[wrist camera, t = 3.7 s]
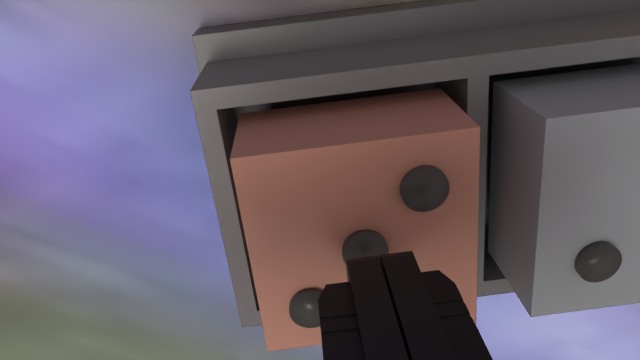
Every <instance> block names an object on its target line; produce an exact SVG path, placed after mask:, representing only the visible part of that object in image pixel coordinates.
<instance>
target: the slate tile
mask: <svg viewBox="0 0 640 360" xmlns="http://www.w3.org/2000/svg"><path fill="white" fill-rule="evenodd" d="M488 252H489V253H490V255H491V256H492V258H493V259H494V261H495V262H496V264H497V265H498V267H499V269H500V270H501V272H502V273H503V275H504V276H505V278H506V279H507V281H508V282H509V284H510V285H511V287H512V289H513V290H514V292H515V293H516V295H517V296H518V298H519V299H520V301H521V302H522V304H523V306H524V307H525V309H526V310H527V312H528V313H529V315H530V316H531V317H534V316H542V315H550V314H557V313H565V312H573V311H580V310H588V309H595V308H603V307H611V306H618V305H626V304H633V303H640V63H639V64H631V65H623V66H615V67H607V68H599V69H591V70H583V71H575V72H567V73H559V74H551V75H543V76H535V77H527V78H519V79H511V80H503V81H495V82H493V107H492V139H491V171H490V202H489V234H488Z"/></svg>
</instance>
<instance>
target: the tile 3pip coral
mask: <svg viewBox="0 0 640 360" xmlns="http://www.w3.org/2000/svg"><path fill="white" fill-rule="evenodd" d="M479 157H480V127H479V126H478V125H477V124H476V123H475V122H474V121H473V120H472V119H471V118H470V117H469V116H468V115H467V114H466V113H465V112H464V111H463V110H462V109H461V108H460V107H459V106H458V105H457V104H456V103H455V102H454V101H453V100H452V99H451V98H450V97H449V96H448V95H447V94H446V93H445V92H444V91H443V90H442V89H441V88H438V89H430V90H422V91H414V92H406V93H398V94H390V95H382V96H374V97H367V98H359V99H351V100H343V101H335V102H327V103H319V104H311V105H303V106H295V107H287V108H279V109H271V110H263V111H255V112H247V113H240V117H239V121H238V125H237V130H236V134H235V138H234V143H233V147H232V151H231V156H230V162H231V167H232V173H233V178H234V183H235V188H236V193H237V198H238V203H239V208H240V213H241V218H242V223H243V228H244V233H245V238H246V243H247V248H248V253H249V258H250V263H251V268H252V273H253V279H254V284H255V289H256V294H257V299H258V304H259V309H260V314H261V319H262V324H263V329H264V334H265V339H266V344H267V349H268V351H275V350H282V349H290V348H298V347H305V346H313V345H320V344H322V338H321V328H320V318H319V308H318V299H319V297H320V295H321V293H322V291H323V289H324V287H325V285H326V284H334V283H342V282H348V280H347V270H346V259H352V258H359V257H367V256H375V255H377V256H378V258H379V255H382V254H390V253H398V252H405V251H412V252H413V254H414V256H415V259H416V261H417V263H418V266H419V268H420V271H421V272H427V271H434V270H440V271H441V272H442V273H443V274H444V275H446V276H447V277H448V278H449V279H451V280H452V281H453V282H454V283H455V284H456V286H457V288H458V290H459V292H460V294H461V296H462V298H463V302H464V303H465V304H466V306H467V308H468V310H469V312H470V317H472V319H473V321H474V323H475V324H476V296H477V250H478V203H479Z"/></svg>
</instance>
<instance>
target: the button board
mask: <svg viewBox="0 0 640 360" xmlns="http://www.w3.org/2000/svg"><path fill="white" fill-rule="evenodd" d="M192 39H193V44H194V49H195V53H196V58H197V63H198V68H199V73H200V75H199V77H198V78H197V80H196V82H195V84H194V85H193V87H192V89H191V90H190V93H191V98H192V102H193V107H194V111H195V116H196V120H197V125H198V129H199V134H200V138H201V143H202V148H203V152H204V157H205V161H206V166H207V170H208V175H209V179H210V184H211V188H212V193H213V198H214V202H215V207H216V211H217V216H218V220H219V225H220V229H221V234H222V238H223V243H224V248H225V252H226V257H227V261H228V266H229V270H230V275H231V279H232V284H233V288H234V293H235V298H236V302H237V307H238V311H239V316H240V320H241V325H242V327H250V326H258V325H263V324H262V319H261V314H260V309H259V304H258V299H257V294H256V289H255V284H254V279H253V273H252V268H251V263H250V258H249V253H248V248H247V243H246V238H245V233H244V228H243V223H242V218H241V213H240V208H239V203H238V198H237V193H236V188H235V183H234V178H233V173H232V167H231V162H230V156H231V151H232V147H233V143H234V138H235V134H236V130H237V125H238V121H239V117H240V113H247V112H255V111H263V110H271V109H279V108H287V107H295V106H303V105H311V104H319V103H327V102H335V101H343V100H351V99H359V98H367V97H374V96H382V95H390V94H398V93H406V92H414V91H422V90H430V89H438V88H441V89H442V90H443V91H444V92H445V93H446V94H447V95H448V96H449V97H450V98H451V99H452V100H453V101H454V102H455V103H456V104H457V105H458V106H459V107H460V108H461V109H462V110H463V111H464V112H465V113H466V114H467V115H468V116H469V117H470V118H471V119H472V120H473V121H474V122H475V123H476V124H477V125H478V126H479V127H480V157H479V203H478V250H477V296H476V297H480V296H487V295H495V294H503V293H510V292H514V290H513V289H512V287H511V285H510V284H509V282H508V281H507V279H506V278H505V276H504V275H503V273H502V272H501V270H500V269H499V267H498V265H497V264H496V262H495V261H494V259H493V258H492V256H491V255H490V253H489V252H488V234H489V202H490V171H491V139H492V107H493V82H495V81H503V80H511V79H519V78H527V77H535V76H543V75H551V74H559V73H567V72H575V71H583V70H591V69H599V68H607V67H615V66H623V65H631V64H639V63H640V0H426V1H418V2H409V3H401V4H393V5H385V6H377V7H369V8H361V9H353V10H345V11H336V12H328V13H320V14H312V15H304V16H296V17H288V18H280V19H271V20H263V21H255V22H247V23H239V24H231V25H223V26H215V27H206V28H198V30H197V31H196V32H195V33H194V34H193V35H192Z"/></svg>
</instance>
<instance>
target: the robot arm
mask: <svg viewBox="0 0 640 360" xmlns="http://www.w3.org/2000/svg"><path fill="white" fill-rule="evenodd" d="M346 270H347V280H348V282H342V283H334V284H326V285H325V287H324V289H323V291H322V293H321V295H320V297H319V299H318V308H319V318H320V328H321V338H322V348H323V358H324V360H492V357H491V355H490V353H489V351H488V349H487V347H486V345H485V343H484V341H483V339H482V337H481V335H480V333H479V331H478V329H477V327H476V325H475V323H474V321H473V319H472V317H470V312H469V310H468V308H467V306H466V304H465V303H464V302H463V298H462V296H461V294H460V292H459V290H458V288H457V286H456V284H455V283H454V282H453V281H452V280H451V279H449V278H448V277H447V276H446V275H444V274H443V273H442V272H441V271H440V270H434V271H427V272H421V271H420V268H419V266H418V263H417V261H416V259H415V256H414V254H413V252H412V251H405V252H398V253H390V254H382V255H379V258H378V256H377V255H375V256H367V257H359V258H352V259H346Z"/></svg>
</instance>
